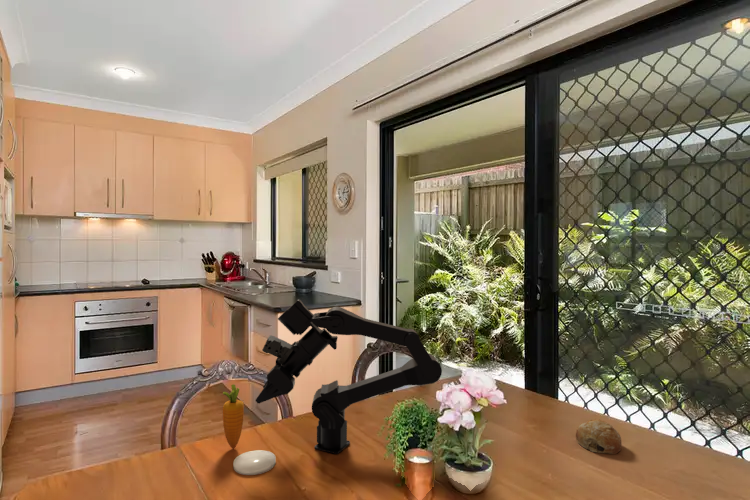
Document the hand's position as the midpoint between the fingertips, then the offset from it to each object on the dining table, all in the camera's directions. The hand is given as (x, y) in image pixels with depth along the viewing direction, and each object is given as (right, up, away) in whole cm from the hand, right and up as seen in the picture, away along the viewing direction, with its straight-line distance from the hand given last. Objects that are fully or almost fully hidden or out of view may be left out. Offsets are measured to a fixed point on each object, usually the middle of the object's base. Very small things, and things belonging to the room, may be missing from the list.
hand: (260, 394), depth 105 cm
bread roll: (+82, -14, +4) cm, 83 cm away
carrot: (-6, -13, 0) cm, 14 cm away
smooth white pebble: (+1, -13, -7) cm, 15 cm away
